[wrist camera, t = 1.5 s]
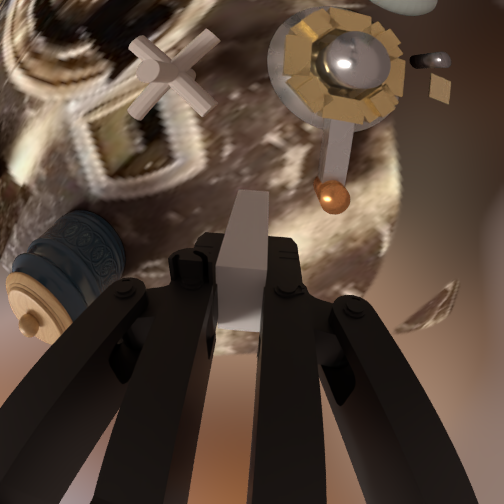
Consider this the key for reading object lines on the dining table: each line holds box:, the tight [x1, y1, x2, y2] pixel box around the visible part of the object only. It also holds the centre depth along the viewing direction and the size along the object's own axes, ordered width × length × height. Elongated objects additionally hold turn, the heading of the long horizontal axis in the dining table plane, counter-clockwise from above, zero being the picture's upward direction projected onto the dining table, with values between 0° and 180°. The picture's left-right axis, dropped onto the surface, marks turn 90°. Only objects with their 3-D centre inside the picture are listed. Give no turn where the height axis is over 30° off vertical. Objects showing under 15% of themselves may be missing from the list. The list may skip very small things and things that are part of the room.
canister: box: [6, 210, 126, 345], centre depth 28 cm, size 13×13×18 cm
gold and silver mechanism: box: [267, 6, 451, 132], centre depth 18 cm, size 14×21×8 cm, turn 87°
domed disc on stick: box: [282, 7, 405, 214], centre depth 21 cm, size 20×11×4 cm, turn 177°
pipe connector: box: [127, 28, 221, 120], centre depth 19 cm, size 10×10×10 cm
